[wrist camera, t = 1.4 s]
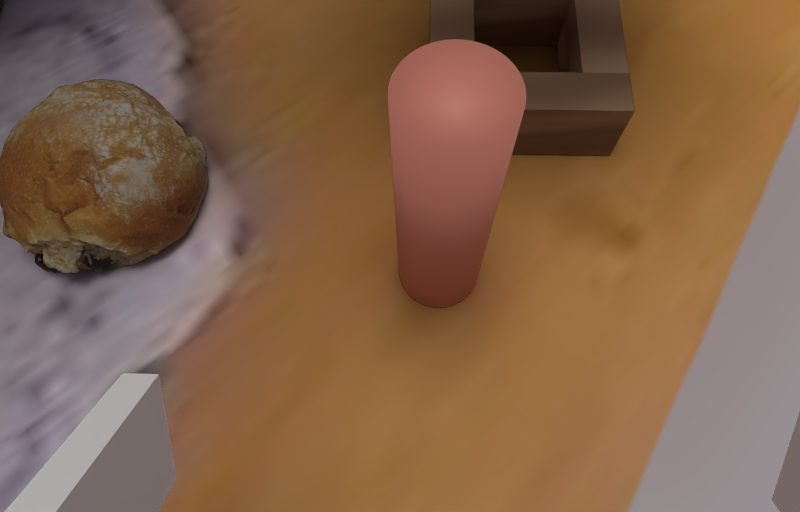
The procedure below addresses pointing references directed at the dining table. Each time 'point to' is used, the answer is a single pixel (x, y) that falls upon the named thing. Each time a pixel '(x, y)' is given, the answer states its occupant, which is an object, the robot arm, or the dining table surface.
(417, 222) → the peg
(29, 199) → the bread roll
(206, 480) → the dining table surface
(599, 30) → the awning socket
